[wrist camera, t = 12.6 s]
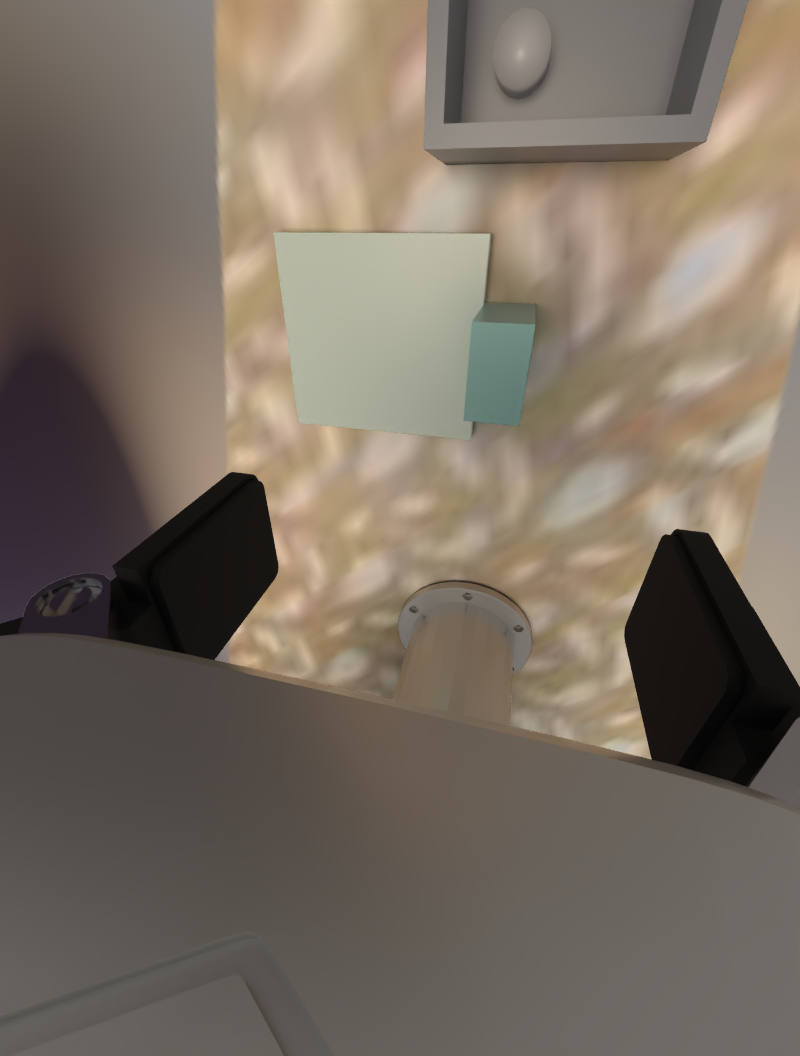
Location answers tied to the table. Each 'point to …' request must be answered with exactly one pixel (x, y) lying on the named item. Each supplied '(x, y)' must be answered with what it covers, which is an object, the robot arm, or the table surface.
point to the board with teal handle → (401, 332)
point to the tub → (574, 78)
